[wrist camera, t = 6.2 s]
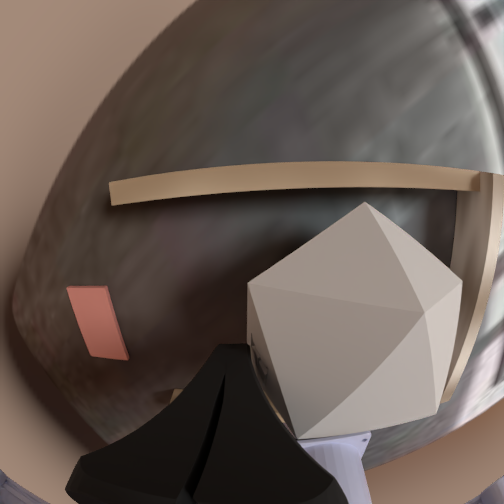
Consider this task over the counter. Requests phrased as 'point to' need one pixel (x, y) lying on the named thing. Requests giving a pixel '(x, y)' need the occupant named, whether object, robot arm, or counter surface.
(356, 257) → the die
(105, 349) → the mat
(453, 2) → the counter surface
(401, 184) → the channel
